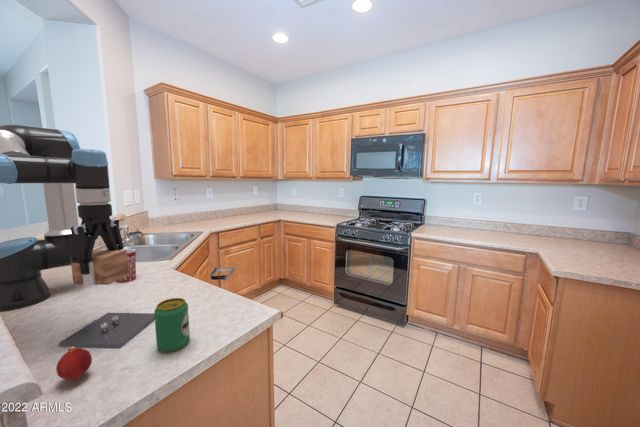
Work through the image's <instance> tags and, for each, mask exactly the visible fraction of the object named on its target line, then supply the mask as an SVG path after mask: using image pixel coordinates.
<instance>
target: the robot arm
mask: <svg viewBox="0 0 640 427" xmlns="http://www.w3.org/2000/svg"><path fill="white" fill-rule="evenodd" d="M108 165H109V162H108V158H107V154H106V152H105V151H103V150H100V149H89V148H81V146H80V144H79V141H78V139H77V137H76V136H75V135H74V133H72V132H70V131H67V130H62V129H57V128H56V129H55V128H54V129H53V128H47V127H46V128H45V127H38V126H37V127H36V126H27V125H22V124H20V125H18V124H5V125H0V184H7V185H13V184H42V185H43V194H44V200H45V201H44V202H45V208H46V215H47V224H48V230H47V231H46V232H45V233H44V234H43V236H44V239H38V238H36V237H35V236H28V237H20V238H15V239H9V240H5V241H0V312H6V311H7V312H8V311H13V310H17V309H22V308H26V307H29V306H33V305H35V304H38V303H40V302H43V301H45V300H48V298H50V297H51V290H50V288H49V287H48V285H47V284H46V282H45V280H44V279H43V277H42V271H45V270H50V269H56V268H61V267H65V266H66V267H67V266H71V262H72V263H79V264H80V271H81V274H82V275H83V283H84V286H94V284H95V275H94V265H93V262H90V260H91V256H92V252H93V251H94V248H95V243H96V240H98V239H99V237H101V239H102V241H103V243H104V244H105V246H106V250H122V249H125V248H124V247H125V246H124V242H123V239H122V235H121V231H120V230H121V229H120V220H118V219H111V218H110V217H112V216H113V207H112V204H111V203H110V202H112V200H111V199H112V198H111V191H110V189H111V188H110V175H109V166H108ZM77 204H79V205H78V206H77ZM79 219H81V223H79ZM79 224H80V225H79ZM70 257H71V260H70ZM84 257H85V259H84Z"/></svg>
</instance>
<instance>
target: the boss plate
mask: <svg viewBox="0 0 640 427" xmlns="http://www.w3.org/2000/svg"><path fill="white" fill-rule="evenodd" d="M153 322H155V315H154V312H153V313H143V312H142V313H140V312H139V313H138V312H135V313H134V312H107V313H106V314H103V315H102V316H100V317H99V318H97V319H95V320H93V321H92V322H91V323H88V324H86V326H84V327H82V328H81V329H80V328H79V329H78V330H77V331H75V332H74V333H72V334H70V335H69V336H68V337H66V338H64V339H62V340H60V341H59V342H58V347H59V346H72V347H76V348H113V349H114V348H115V349H116V348H117V349H119V348H120V349H121V348H122V347H124V346H125V345H126V344H127V343H129V342H130V340H133V339H134V338H135V337H136V336H137V335H138V334H140V333H141V332H142V331H143V330H144V329H146V328H147V327H148V326H149V325H150V324H151V323H153Z"/></svg>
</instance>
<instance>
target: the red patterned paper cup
mask: <svg viewBox="0 0 640 427" xmlns="http://www.w3.org/2000/svg"><path fill="white" fill-rule="evenodd" d="M121 250H127V260H128V271H129V275H127V276H125V277H123V278H121V279H119V280H117V281H115V282H116V283H117V284H123V283H124V284H125V283H130V282H133V281H134V280H136V279H137V267H136V266H137V264H136V263H137V249H136V248H135V249H134V248H123V249H121Z"/></svg>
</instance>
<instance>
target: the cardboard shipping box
mask: <svg viewBox="0 0 640 427" xmlns="http://www.w3.org/2000/svg"><path fill="white" fill-rule="evenodd" d="M84 259H85V257H84ZM70 260H71V257H70ZM90 262H93V265H94V275H95V284H94V285H95V286H101V285H102V286H105V285H107V286H108V285H110V284H112V283H115V282H116V281H117V280H119V279H121V278H123V277H125V276H127V275H129V271H128V260H127V250H122V249H121V250H108V249H106V250H105V249H99V250H98V249H95V250H94V249H93V252H92V256H91V260H90ZM70 266H71V267H70V268H71V277H72V282H73V286H75V285H76V286H77V285H79V286H80V285H81V286H82V285H84V283H83V275H82V274H81V271H80V264H79V263H72V262H71V265H70ZM94 285H93V286H94ZM84 286H85V285H84Z"/></svg>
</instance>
